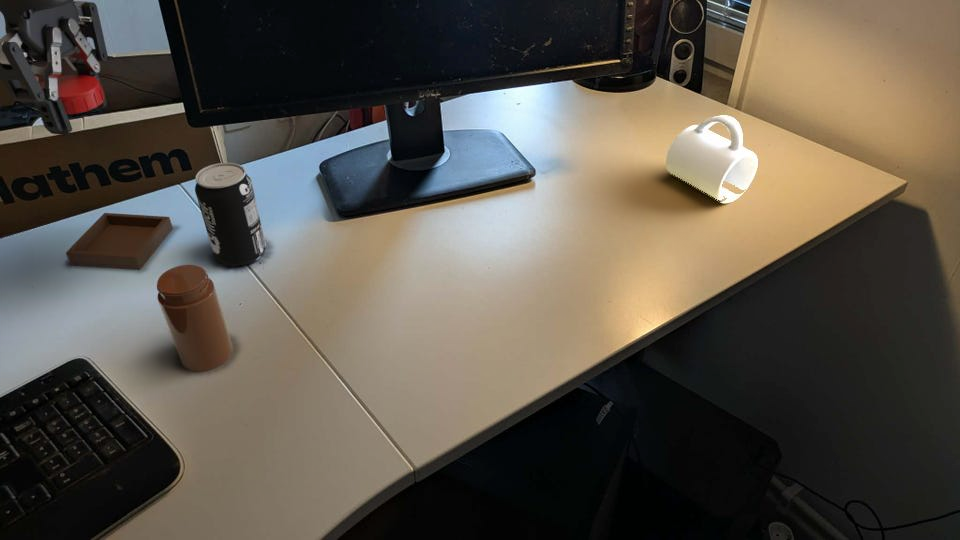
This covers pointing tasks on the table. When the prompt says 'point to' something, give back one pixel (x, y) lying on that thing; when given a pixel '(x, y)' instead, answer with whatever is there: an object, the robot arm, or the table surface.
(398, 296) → the table surface
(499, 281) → the table surface
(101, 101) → the jar lid
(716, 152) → the mug
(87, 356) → the table surface
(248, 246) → the beverage can
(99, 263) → the tray
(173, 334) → the jar
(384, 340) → the table surface
